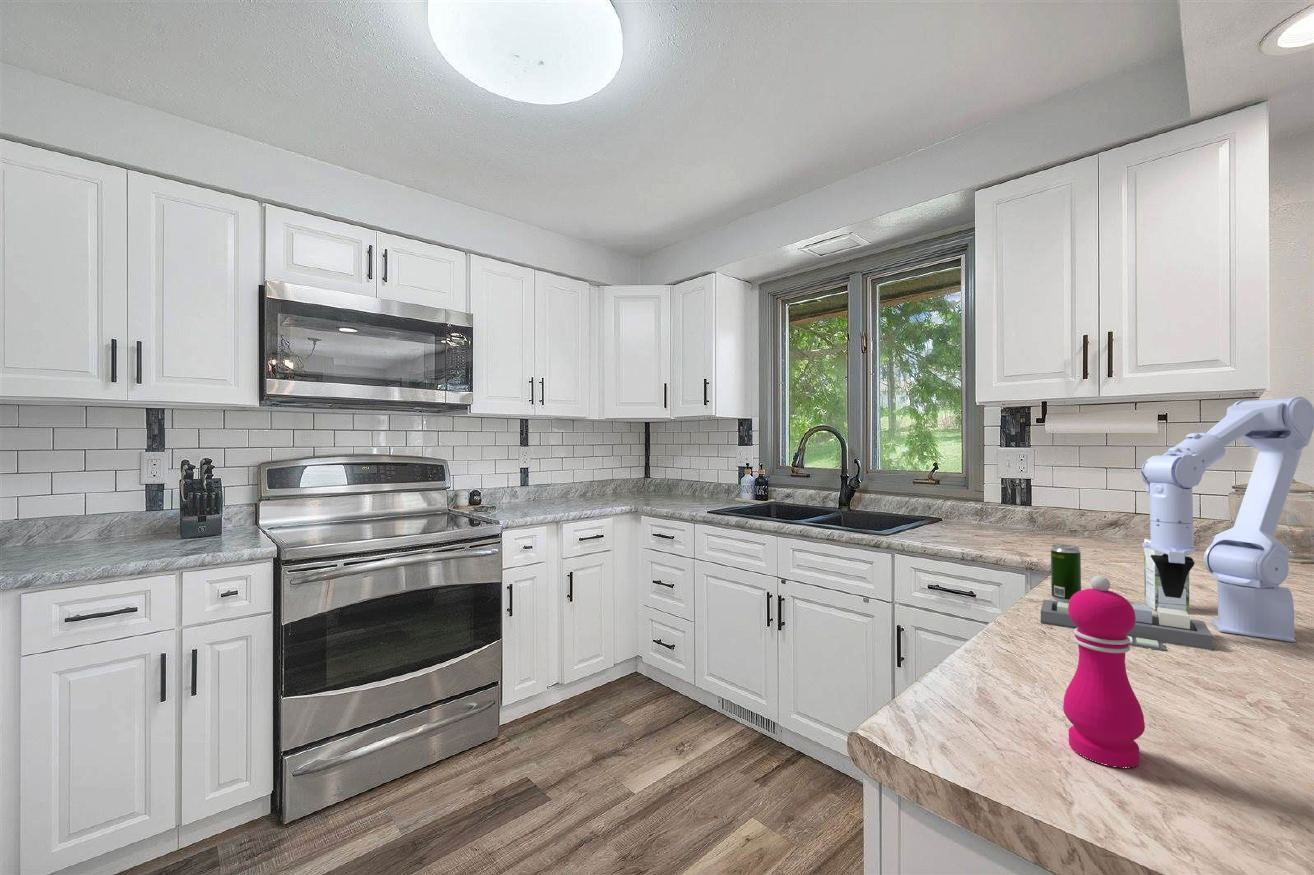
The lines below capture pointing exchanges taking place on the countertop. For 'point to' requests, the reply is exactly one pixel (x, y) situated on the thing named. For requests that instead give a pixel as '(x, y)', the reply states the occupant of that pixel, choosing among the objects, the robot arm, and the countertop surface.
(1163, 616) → the key cream
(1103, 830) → the countertop surface
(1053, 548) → the beer can
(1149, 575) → the syrup box
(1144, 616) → the key slate
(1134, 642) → the strip
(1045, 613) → the grey shallow tray
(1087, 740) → the pepper mill
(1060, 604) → the key sage
